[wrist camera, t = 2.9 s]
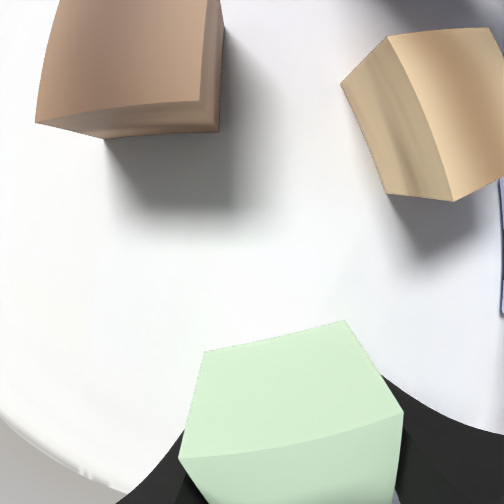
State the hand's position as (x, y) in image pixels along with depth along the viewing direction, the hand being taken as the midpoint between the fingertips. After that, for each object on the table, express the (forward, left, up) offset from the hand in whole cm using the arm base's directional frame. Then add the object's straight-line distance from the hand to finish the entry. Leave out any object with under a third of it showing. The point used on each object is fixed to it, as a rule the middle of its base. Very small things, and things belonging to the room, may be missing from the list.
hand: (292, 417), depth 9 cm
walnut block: (+2, -13, -4) cm, 14 cm away
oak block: (-8, -9, -4) cm, 13 cm away
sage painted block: (0, 0, -2) cm, 2 cm away
